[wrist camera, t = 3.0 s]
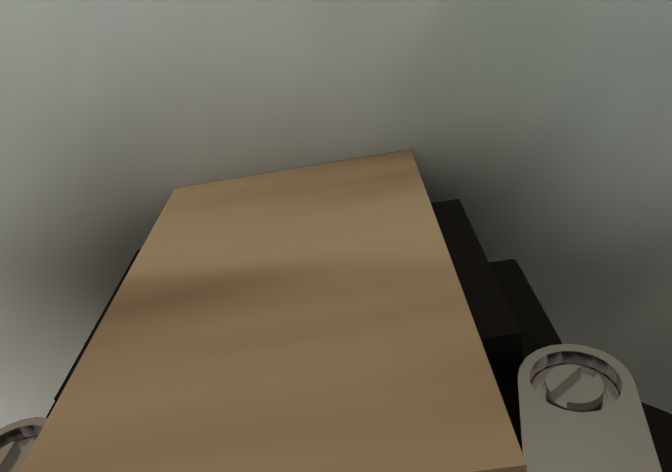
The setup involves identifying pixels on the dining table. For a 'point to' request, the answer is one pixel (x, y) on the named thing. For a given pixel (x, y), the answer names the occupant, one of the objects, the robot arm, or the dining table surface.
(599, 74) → the dining table surface
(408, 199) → the oak block
